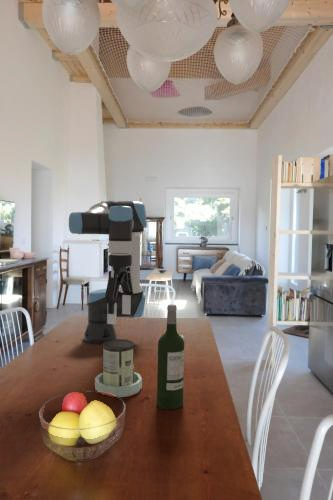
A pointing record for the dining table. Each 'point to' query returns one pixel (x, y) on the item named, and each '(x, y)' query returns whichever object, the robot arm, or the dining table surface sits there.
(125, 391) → the ring tray
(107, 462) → the dining table surface
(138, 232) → the robot arm
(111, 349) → the coffee can
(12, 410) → the dining table surface
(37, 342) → the dining table surface
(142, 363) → the dining table surface
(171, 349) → the wine bottle
